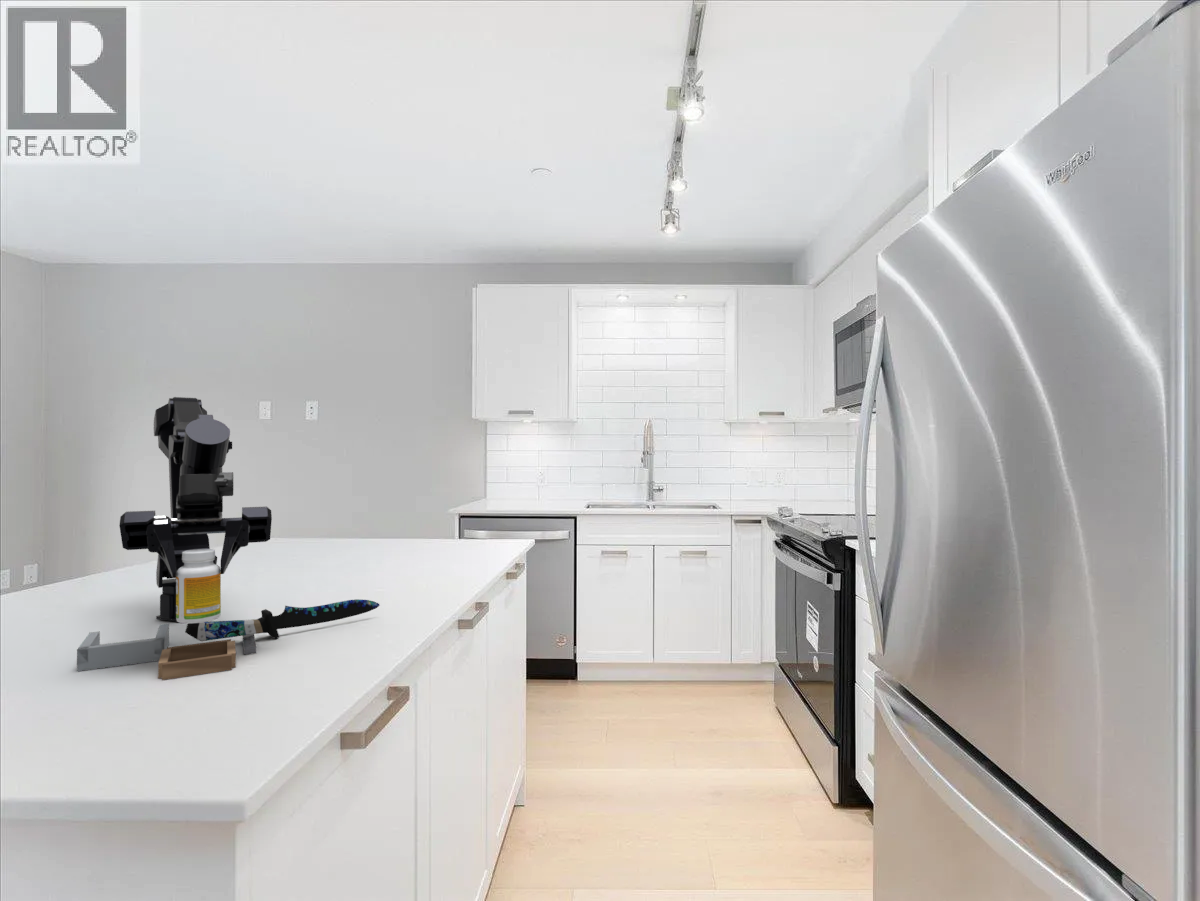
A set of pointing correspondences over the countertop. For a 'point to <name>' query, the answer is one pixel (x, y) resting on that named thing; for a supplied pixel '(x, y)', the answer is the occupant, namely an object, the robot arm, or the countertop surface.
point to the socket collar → (197, 659)
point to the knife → (279, 620)
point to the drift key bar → (249, 644)
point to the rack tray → (120, 650)
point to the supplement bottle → (198, 587)
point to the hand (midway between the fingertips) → (198, 574)
